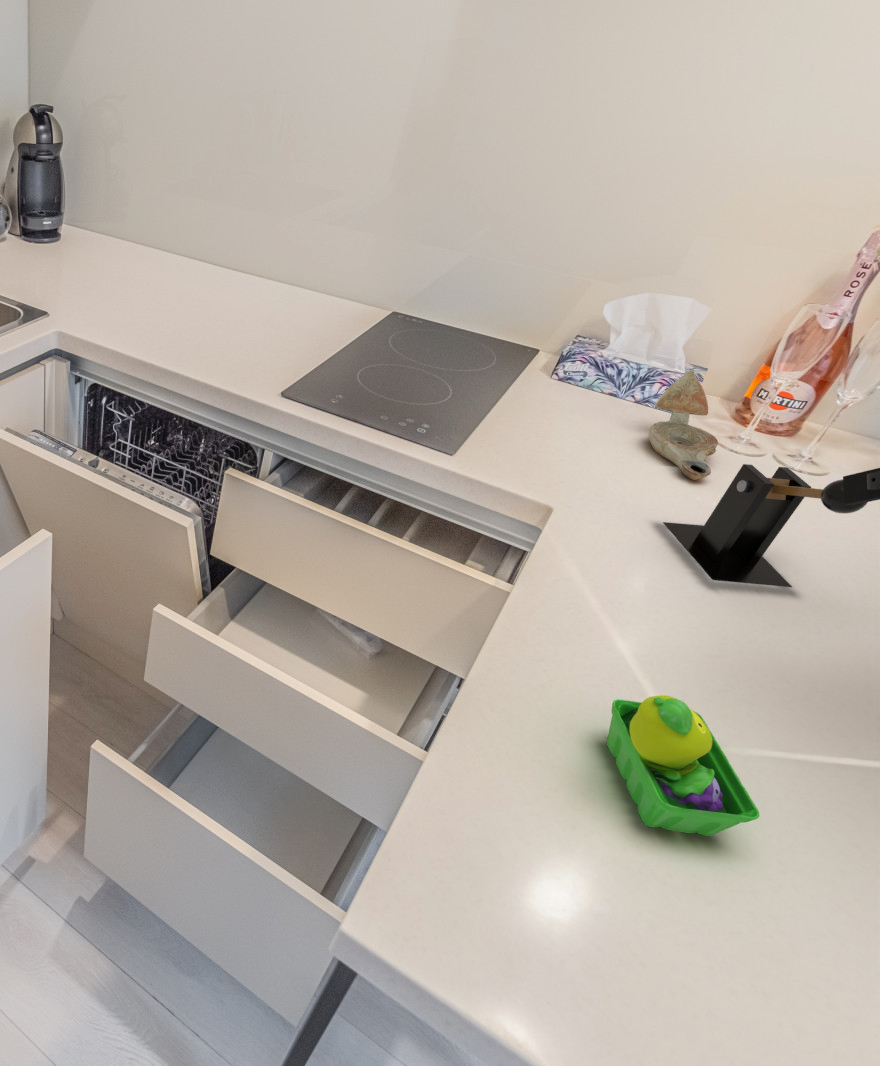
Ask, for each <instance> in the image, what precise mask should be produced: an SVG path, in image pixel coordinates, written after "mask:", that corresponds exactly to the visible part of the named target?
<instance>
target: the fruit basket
mask: <svg viewBox="0 0 880 1066" xmlns="http://www.w3.org/2000/svg"><path fill="white" fill-rule="evenodd" d="M713 734H714V733H712V731H711V729H710V727H709V726H708V724H707V723H706V720H705V719H704V717H703V716H702V715H701V714H699V713H698V712H696V711H694V710H692V709H691V708H690V707H689V706H688V704H687V703H685V702H684V701H682V700H681V699H678V698H676V697H674V696H671V695H660V694H659V695H654V696H653V695H652V696H649V697H648V698H645V699H644V700H643V701H636V700H635V701H634V700H627V699H619V698H617V699H614V700H612V705H611V719H610V725H609V730H608V733H607V739H606V746H607V748H608V750H609V752H610V754H611V755H612V757H613V758H614V759H615V765H616V767H617V769H618V771H619V774H620V776H621V777H622V778H623V780H624V781H625V784H626V788H627V791H628V793H629V795H630V797H631V799H632V801H633V802H634V803H635V804H636V805H637V812H638V814H639V817H640V818H641V821H642V823H643V825H645V826H646V827H648V828H662V829H664V830H666V831H673V832H678V833H685V834H696V833H697V834H698V835H702V836H704V837H711V836H714V835H716V834H719V833H721V832H723V831H725V830H727V829H730V828H732V827H734V826H737V825H739V824H743V823H744V824H746V823H749V822H752V821H755V820H758V819H759V818H760V812H759V809H758V807H757V805H756V804H755V803H754V801H753V799H752V797H751V796H750V794H749V792H748V791H747V789H746V788H745V786H744V785H743V783H742V782H741V779H740V777H739V776H738V775H737V773H736V771H735V769H734V768H733V766H732V764H731V763H730V761H729V759H728V758H727V756H726V754H725V753H724V751H723V750H722V748H721V746H720V745H719V743H718V741H717V740H716V738H715V736H714V735H713Z"/></svg>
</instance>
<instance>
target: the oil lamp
mask: <svg viewBox="0 0 880 1066" xmlns="http://www.w3.org/2000/svg"><path fill="white" fill-rule="evenodd" d="M654 407H655V409H659V410H664V411H668V412H670V413H671V415H670V417H669V420H667V421H658V422H655V423H653V424H651V426H650V428H649V429H648V438H649V442H650V444H651V447H652V449H653V450H654V451H655V452H656V453H657V454H658V455H659V456H661V457H663V458H665V459H667V460H668V461H670V462H671V463H672V464H674V465H676V466H677V467H678V468H679V469H680V471H681V472H682V474H683V475H684V476H685V477H686V478H687V479H690V480H693V481H695V480H700V479H704V478H706V477H708V476H709V475H711V473H712V470H711V468H710V466H709V465H708V464H707V461H705V460H706V458H707V457H709V456H712V455H714V454H715V453H716V452H717V447H718V446H719V440H718V439H717V437H716V436H714V435H713V434H712V433H710V432H709V431H707V430H703V429H702V428H699V427H697V426H694V425H690V424H689V421H690V415H695V416H707V415H708V414H709V403H708V398H707V395H706V393H705V390H704V388H703V386H702V384H701V383H700V381H699V378H697V376H696V373H695V371H694V370H689V371H687V372H686V373H685V374H683V375H682V376H680V377H679V378H678V379H676V380H675V381H674V382H673V383H672V384H671V385H669V387H667V389H666V390H664V392H663V393H662V394H661V396H660V397H659V398H658V400H657V401H656V403H655V405H654Z"/></svg>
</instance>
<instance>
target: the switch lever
mask: <svg viewBox="0 0 880 1066" xmlns="http://www.w3.org/2000/svg"><path fill="white" fill-rule="evenodd" d="M767 478H768V479H769V480H770V481H771V482H772V483H773V484H774V486H773V487H772V489H771V490H770V492H769V493H768V494H767V496H766V497H765V499H776V500H785V499H786V495H793V496H802V497H804V498H811V499H820V501H821V503H822V505H823V506H824V507H825V508H826V509H827V510H829V511H831V512H833V513H836V514H852V513H856V512H858V511H860V510H862V509H864V508H865V507H866V505H867V504H868V502H865V503H860V504H855V505H847V504H844V489H843V478H842V479H837V480H834V481H832V482H830V483H828V484H827V485H826V486H825V487H824V488H813V487H811V488H805V487H795V486H789V481H790V480H787V479H776V478H772V477H767Z"/></svg>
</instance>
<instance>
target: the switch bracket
mask: <svg viewBox="0 0 880 1066" xmlns="http://www.w3.org/2000/svg"><path fill="white" fill-rule="evenodd" d="M768 478H769V477H767V476H766V475H764V474H763V473H762V472H761V471H760V470H759V469H757V467H755V466H754V465H753V464H747V463H743V464H742V466H741V467H740V468H739V470H738V472H737V473H736V474H735V476H734V478H733V480H732V481H731V483H730V484H729V486H728V487H727V489H726V491H725V492H724V493H723V495H722V497H721V498H720V500H719V502H718V503H717V504H716V506H715V508H714V509H713V511H711V514H710V515H709V517H708V518H707V520H706V521H705V523H704V524H703V525H702V524H701V525H700V524H690V523H680V522H679V523H677V522H667V521H663V522H662V524H664V526H665V527H666V528H667V529H668V530H669V532H670V533H671V534H672V535H673V537H675V538H676V540H677V541H678V542H679V543H680V544H681V545H682V547H683V548H684V549H685V550H686V551H687V553H688V554H690V556H691V557H692V558H693V559H694V561H695V562H696V563H697V564H698V565H699V567H700V568H701V569H702V570H703V571H704V572H705V573H706V574H707V576H708V577H709V578H710V579H711V580H712V581H716V582H719V581H720V582H727V583H728V582H729V583H740V584H750V585H751V584H752V585H762V586H774V587H783V588H784V587H785V588H793V586H792V585H791V584H790V582H789V581H788V580H786V579H785V578H784V577H783V576H782V574H781V573H779V572H778V571H777V569H775V568H774V566H773V565H772V564H771V563H769V561H768V560H767V559H765V557H764V554H765V553H766V552H767V550H768V549H769V547H770V546H771V544H772V543H773V542H774V540H775V539H776V538H777V536H778V535H779V534H780V532H781V531H782V529H783V528H784V527H785V525H786V524H787V523H788V521H789V520H790V519H791V517H792V515H793V514H794V513H795V512H796V510H797V509H798V508H799V506H800V504H801V503H802V502H803V500H804V499H805V497H802V496H793V495H786V499H785V500H776V499H765V497H766V496H767V494H768V493H769V492H770V490H771V489H772V487H773V486H774V484H773V483H772V482H771V481H770V480H769V479H768ZM771 478H776V479H787V480H790V481H789V486H795V487H805V488H812V486H811V485H809V484H808V483H807V482H806V481H805V480H804V479H802V478H801V477H800V476H799V475H798V474H796V473H795V472H794V471H793V470H791V469H790V468H789V467H788V466H787V467H785V466H778V468H777V469H776V470H775V472H774V474H773V475H772V476H771Z"/></svg>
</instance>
